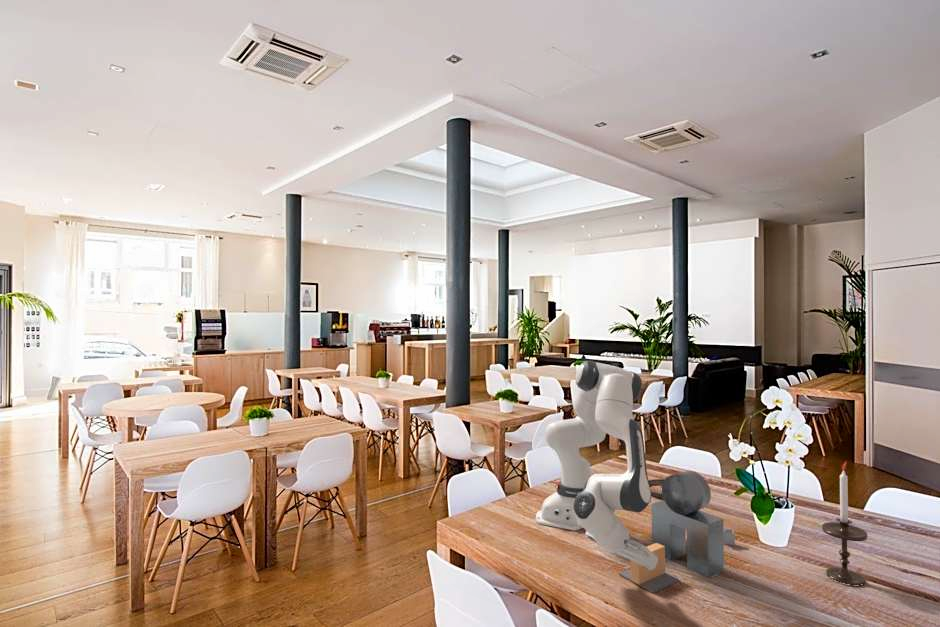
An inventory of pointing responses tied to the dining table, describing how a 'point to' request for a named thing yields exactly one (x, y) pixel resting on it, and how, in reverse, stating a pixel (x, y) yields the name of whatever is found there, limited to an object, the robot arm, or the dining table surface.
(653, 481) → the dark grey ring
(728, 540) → the lighter
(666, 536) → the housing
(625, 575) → the mat
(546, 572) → the dining table surface
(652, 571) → the plug
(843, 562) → the candlestick
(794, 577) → the dining table surface
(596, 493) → the robot arm
